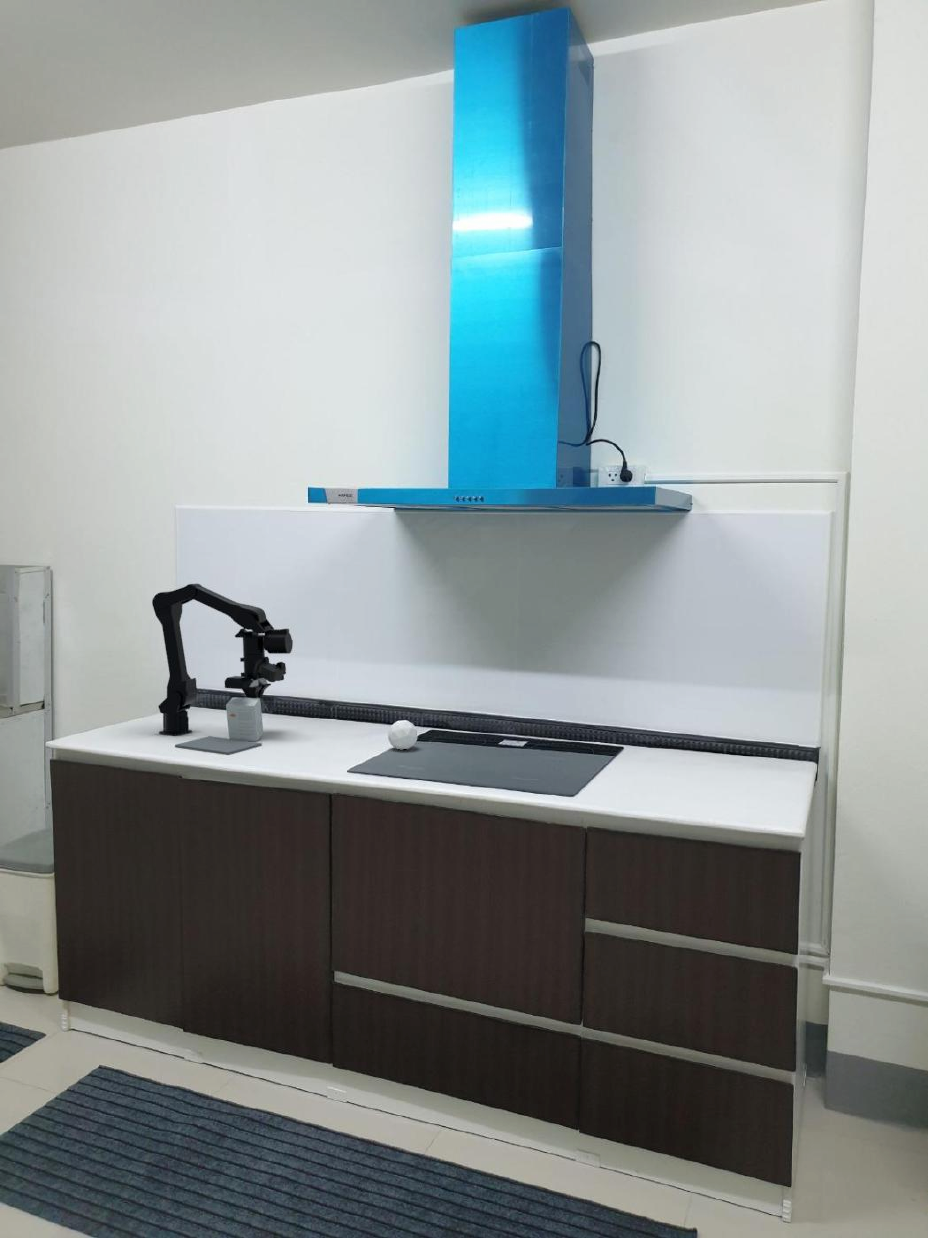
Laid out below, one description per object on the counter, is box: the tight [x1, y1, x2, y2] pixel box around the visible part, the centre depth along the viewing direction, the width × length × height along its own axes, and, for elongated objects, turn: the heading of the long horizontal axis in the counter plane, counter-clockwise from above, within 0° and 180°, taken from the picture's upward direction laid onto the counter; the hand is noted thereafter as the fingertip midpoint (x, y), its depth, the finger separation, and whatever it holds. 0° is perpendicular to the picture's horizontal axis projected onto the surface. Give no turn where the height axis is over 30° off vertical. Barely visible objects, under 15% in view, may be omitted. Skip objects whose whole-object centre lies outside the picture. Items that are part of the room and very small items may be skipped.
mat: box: [174, 735, 263, 756], centre depth 251 cm, size 18×13×1 cm
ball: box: [387, 719, 418, 751], centre depth 251 cm, size 8×8×8 cm
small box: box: [225, 696, 264, 742], centre depth 259 cm, size 8×6×10 cm
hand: (256, 710), depth 263 cm, fingers closed
